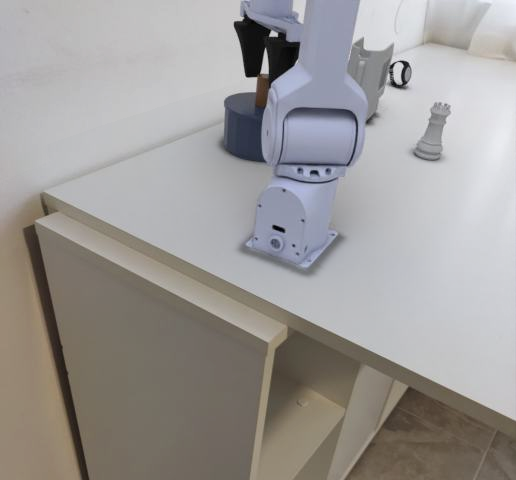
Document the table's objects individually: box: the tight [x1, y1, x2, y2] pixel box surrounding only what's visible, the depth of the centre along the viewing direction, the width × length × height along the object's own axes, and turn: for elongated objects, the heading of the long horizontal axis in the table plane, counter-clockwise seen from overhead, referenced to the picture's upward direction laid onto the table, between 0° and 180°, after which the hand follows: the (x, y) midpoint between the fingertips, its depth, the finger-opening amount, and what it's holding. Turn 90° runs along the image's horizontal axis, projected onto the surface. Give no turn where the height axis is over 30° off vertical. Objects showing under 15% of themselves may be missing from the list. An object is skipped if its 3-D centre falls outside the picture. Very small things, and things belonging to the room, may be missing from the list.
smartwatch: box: [388, 60, 413, 88], centre depth 115 cm, size 4×5×5 cm
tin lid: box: [223, 73, 269, 122], centre depth 79 cm, size 12×12×5 cm
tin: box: [222, 108, 266, 162], centre depth 82 cm, size 11×11×6 cm
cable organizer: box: [346, 36, 395, 122], centre depth 96 cm, size 7×12×12 cm, turn 157°
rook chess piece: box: [413, 101, 452, 161], centre depth 85 cm, size 4×4×8 cm
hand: (264, 84), depth 78 cm, fingers open, 7 cm apart
